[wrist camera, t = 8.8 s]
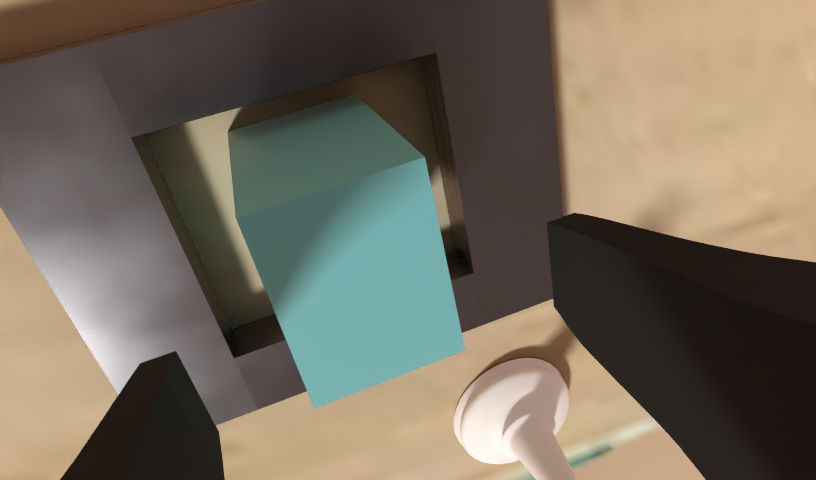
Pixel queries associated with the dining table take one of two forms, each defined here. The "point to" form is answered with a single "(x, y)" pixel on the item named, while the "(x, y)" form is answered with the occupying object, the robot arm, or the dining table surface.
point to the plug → (345, 245)
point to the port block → (243, 85)
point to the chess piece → (516, 417)
